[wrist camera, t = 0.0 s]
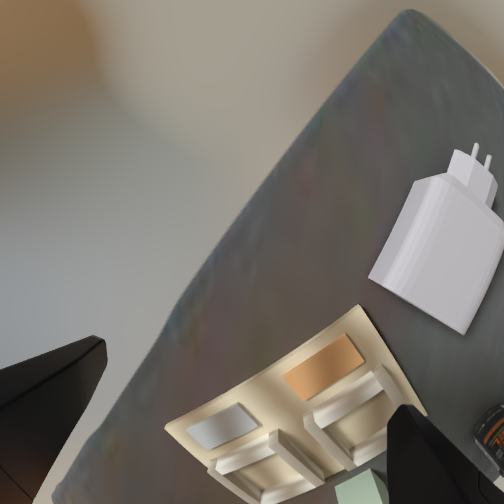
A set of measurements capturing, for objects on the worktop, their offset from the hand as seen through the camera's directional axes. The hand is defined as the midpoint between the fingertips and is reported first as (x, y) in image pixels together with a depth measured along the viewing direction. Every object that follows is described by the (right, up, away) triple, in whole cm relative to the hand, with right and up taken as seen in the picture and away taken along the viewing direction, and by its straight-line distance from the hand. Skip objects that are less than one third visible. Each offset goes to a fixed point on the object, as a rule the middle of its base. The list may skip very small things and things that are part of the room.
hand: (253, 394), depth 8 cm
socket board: (+5, -12, +16) cm, 21 cm away
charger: (+16, +6, +14) cm, 23 cm away
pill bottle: (+30, -17, +16) cm, 38 cm away
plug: (+12, -23, +17) cm, 31 cm away
